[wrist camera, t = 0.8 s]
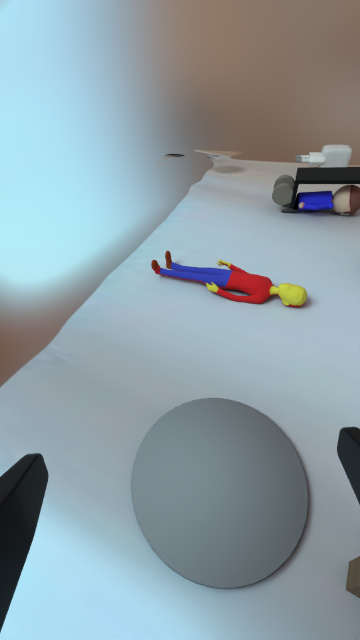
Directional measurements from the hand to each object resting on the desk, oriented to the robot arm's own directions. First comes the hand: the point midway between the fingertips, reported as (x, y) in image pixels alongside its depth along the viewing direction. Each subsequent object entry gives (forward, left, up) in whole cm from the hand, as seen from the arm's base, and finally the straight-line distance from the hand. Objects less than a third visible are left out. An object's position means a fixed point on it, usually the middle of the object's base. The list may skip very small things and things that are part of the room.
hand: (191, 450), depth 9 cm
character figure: (+22, -19, -16) cm, 33 cm away
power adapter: (+46, -62, -16) cm, 79 cm away
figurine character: (+32, -46, -16) cm, 58 cm away
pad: (+3, -4, -16) cm, 16 cm away
